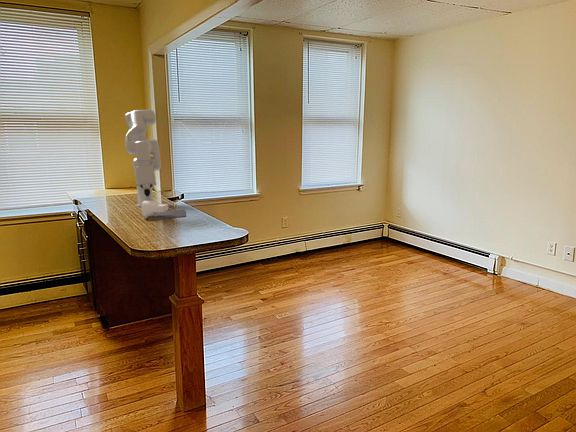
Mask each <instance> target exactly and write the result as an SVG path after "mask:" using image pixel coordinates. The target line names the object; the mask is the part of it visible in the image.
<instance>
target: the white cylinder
mask: <svg viewBox="0 0 576 432" xmlns="http://www.w3.org/2000/svg"><path fill="white" fill-rule="evenodd" d="M140 209H141V214H142V216H143V217H144V218H147V217H155V216H157V214H158V212H164V211H169V204H168V203H167V204H166V203H165V204H164V203H163V204H158V202H157V200H154V201H143V202H142V206H141V208H140Z"/></svg>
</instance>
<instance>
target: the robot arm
mask: <svg viewBox="0 0 576 432" xmlns="http://www.w3.org/2000/svg"><path fill="white" fill-rule="evenodd" d="M124 117H125V118H124V119H125V123H126V125H127V127H128V128H129V130H128V131H127V133H126V134H125V136H124V146H125V150H126V153H127V154H129V155H135V158H133V160H132V167H133V170H134V171H133V172H134V176H135V183H136V184H135V186H136V193H137V200H138V203H136V205H135V206H136V207H138V208H140V207H141V206H142V202H143V201H155V199H154V194H153V193H154V192H153V186H156V185H157V182H156V174H155V172H157V171H160V170H161V169H162V161H161V160H162V159H161V150H160V145H159V144H160V143H159V142H158V140H156V139H155V138H154V139H153V138H151V139H149V138H147V135H146V134H147V132H148V127H147V126H154V125H155V124H156V121H157V117H156V113H155V112H154V110H152V109H135V110H131V111H130V112H127V113H125V115H124Z"/></svg>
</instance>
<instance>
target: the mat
mask: <svg viewBox="0 0 576 432" xmlns="http://www.w3.org/2000/svg"><path fill="white" fill-rule="evenodd" d="M175 218H176V219H178V218H186V211H185V209H178V210H166V211H164V212H158V214H157V216H155V217H148V218H147V221H155V220H166V219H175Z"/></svg>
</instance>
